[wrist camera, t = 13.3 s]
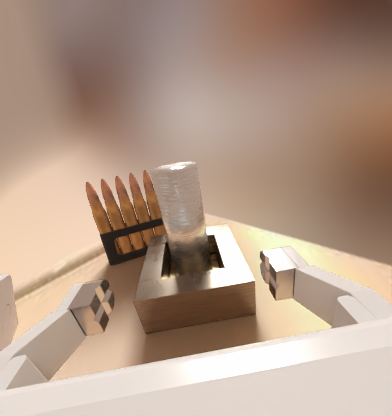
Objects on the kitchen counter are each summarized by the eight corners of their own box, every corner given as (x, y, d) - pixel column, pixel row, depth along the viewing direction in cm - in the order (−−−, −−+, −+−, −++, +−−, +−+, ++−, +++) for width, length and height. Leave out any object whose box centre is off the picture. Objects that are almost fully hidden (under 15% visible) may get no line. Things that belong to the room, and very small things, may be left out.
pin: (176, 291, 19) (146, 176, 14) (177, 264, 23) (153, 166, 18) (215, 284, 19) (198, 168, 14) (209, 259, 23) (194, 159, 18)
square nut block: (145, 333, 17) (133, 301, 15) (158, 260, 26) (151, 236, 24) (255, 314, 17) (254, 280, 15) (229, 248, 26) (226, 223, 24)
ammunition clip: (110, 266, 26) (76, 185, 22) (111, 258, 28) (80, 182, 23) (182, 243, 29) (165, 166, 24) (179, 237, 31) (163, 164, 26)
